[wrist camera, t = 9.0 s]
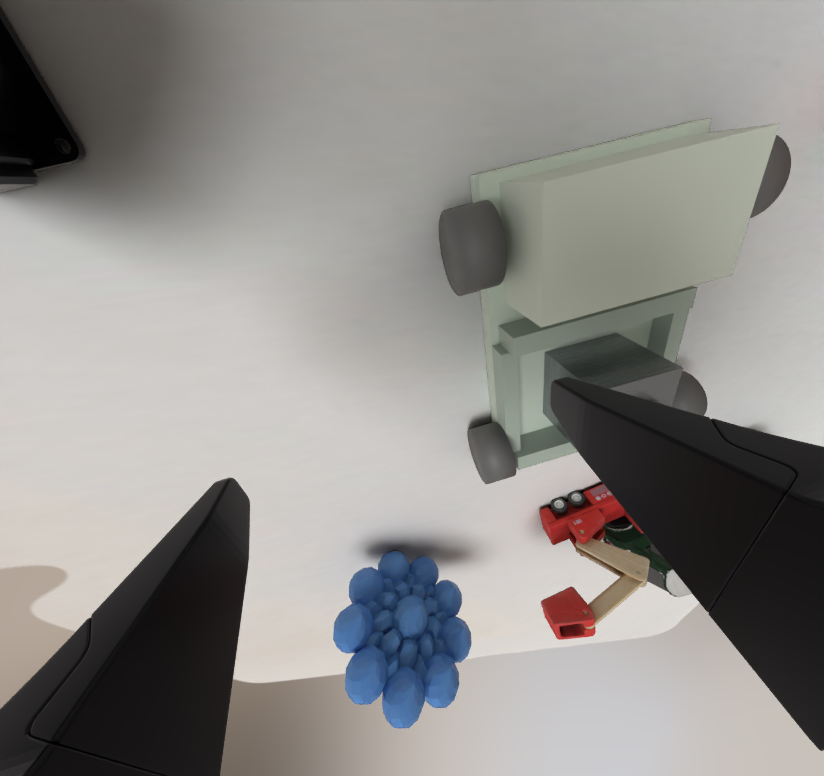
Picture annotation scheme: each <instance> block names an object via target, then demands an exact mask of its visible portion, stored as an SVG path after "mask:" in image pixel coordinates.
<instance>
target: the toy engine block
mask: <svg viewBox="0 0 824 776" xmlns="http://www.w3.org/2000/svg"><path fill="white" fill-rule="evenodd" d="M682 370H683V367H681V366H679V365H677V364H675V363H673V362H671V361H669V360H668V359H666V358H664V357H662V356H660V355H658V354H656V353H654V352H652V351H650V350H649V349H647V348H645V347H643V346H641V345H639V344H637V343H635V342H633V341H632V340H630V339H628V338H626V337H624V336H622V335H620V334H618V333H613V334H609V335H606V336H602V337H598V338H595V339H591V340H587V341H583V342H580V343H576V344H572V345H569V346H565V347H561V348H557V349H554V350H550V351H546V352H545V356H544V387H543V414H544V415H545V416H546V417H547V418H548V419H549V420H550V421H551V423H552V424H553V425H554V426H555V427H556V428H557V429H558V430H559V431H560V432H561V434H562V435H563V436H564V437H565V438H566V439H567V440H568V441H569V442H570V443H571V444H572V446H573V447H574V448H575V446H574V445H573V443H572V441H571V440H570V438H569V437H568V435H567V434H566V432H565V430H564V429H563V427H562V426H561V424H560V423H559V421H558V419H557V418H556V416H555V415H554V413H553V411H552V409H551V406H550V393H551V383H552V381H553V380H556V379H559V378H562V377H570V378H573V379H577V380H580V381H584V382H587V383H591V384H594V385H598V386H601V387H605V388H608V389H612V390H615V391H619V392H622V393H626V394H629V395H633V396H636V397H640V398H643V399H647V400H650V401H654V402H657V403H660V404H664V405H667V406H671V407H672V404H673V401H674V397H675V394H676V390H677V387H678V384H679V380H680V377H681V373H682ZM575 449H576V448H575ZM576 450H577V449H576Z"/></svg>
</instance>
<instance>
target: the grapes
mask: <svg viewBox="0 0 824 776" xmlns="http://www.w3.org/2000/svg"><path fill="white" fill-rule="evenodd" d="M437 580H438V568H437V565H436V563H435V562H434V560H432V559H431V558H429V557H427V556H422V557H418V558H417V559H415V560H414V561H413V562H412V563H411V565H410V564H409V562H408V559H407V557H406V555H404V554H403V553H401V552H399V551H391V552H389V553H387V554H386V555H384V556H383V557H382V558H381V560H380V562H379V564H378V570H376V569H374V568H372V567H368V568H363V569H361V570H360V571H358V572H357V573H355V574H354V576H353V578H352V579H351V581H350V584H349V597H350V599H351V601H352V603H353V604H351V605H350V606H348V607H347V608H346V609H344V610H343V611H341V612H340V614H339V615H338V617H337V619H336V621H335V623H334V634H333V640H334V642H335V644H336V646H337V648H339V649H340V650H341V651H342V652H345V653H355V654H354V655H353V656H352V658H351V660H350V662H349V664H348V666H347V668H346V677H345V689H346V691H347V694H348V696H349V698H350V699H351V700H352V701H353V702H354V703H355V704H360V705H361V704H371V703H372V702H373V701H374V700H375V699H377V698H378V697H379V696H380V695H381V693H382V691H383V696H382V706H383V712H384V715H385V717H386V719H387V721H388V722H389V723H390V724H391V725H392V726H393V727H394V728H409V727H411V726H412V725H413V724H414V723H415V722H416V721H417V720H418V718H419V715H420V713H421V710H422V707H423V704H424V702H425V700H426V702H427V703H429V704H430V705H431V706H432V707H435V708H446V707H447V706H448V705H449V704H450V703H451V702H453V700H454V699H455V696H456V693H457V690H458V686H459V673H458V670H457V668H456V665H455V663H457V662H461V661H462V660H464V659H465V658H466V657H467V656H468V653H469V650H470V647H471V632H470V630H469V628H468V626H467V624H466V622H465V621H463V620H462V619H460V618H458V617H456V615H457V614H458V612H459V609H460V607H461V604H462V595H461V592H460V590H459V588H458V586H457V585H456V584H455V583H453V582H451V581H449V580H442V581H440V582H439V583H437V584H436V582H437ZM435 584H436V585H435Z"/></svg>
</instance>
